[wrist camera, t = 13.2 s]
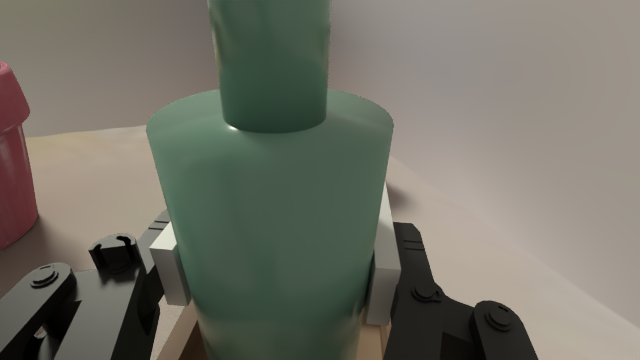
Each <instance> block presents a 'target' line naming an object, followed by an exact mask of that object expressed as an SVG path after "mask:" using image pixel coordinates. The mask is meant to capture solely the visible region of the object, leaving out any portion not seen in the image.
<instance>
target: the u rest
mask: <svg viewBox="0 0 640 360" xmlns="http://www.w3.org/2000/svg"><path fill="white" fill-rule="evenodd" d="M390 330H391V318H390V321H389V325H388V326H384V325H374V324H366V305H365V307H364V313H363V319H362V326H361V332H360V338H359V344H358V350H357V357H356V360H383V357H384V353H385V349H386V345H387V342H388V338H389V334H390ZM157 360H208V357H207V353H206V349H205V346H204V342H203V338H202V335H201V331H200V327H199V323H198V320H197V316H196V312H195V309H194V305H193V301H192V300H191V302H190V304H189V306H185V307H184V309H183V311H182V313H181V315H180V317H179V319H178V321H177V322H176V324H175V326H174V328H173V330H172V332H171V334H170V336H169V337H168V339H167V341H166V343H165V345H164V347H163V349H162V351H161V352H160V354H159V356H158V358H157Z"/></svg>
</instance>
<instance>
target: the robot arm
mask: <svg viewBox="0 0 640 360" xmlns="http://www.w3.org/2000/svg"><path fill="white" fill-rule="evenodd" d="M89 253H90V255H91V257H92V259H93V261H94V263H95V266H96V268H97V269H93V270H86V271H80V272H73V271H72V269H71V267H70V266H69V265H68V264H67V263H61V262H58V263H50V264H47V265H44V266H41V267H39V268H37V269H35V270H33V271H31V272H30V273H29V274H27V275H26V276H25V277H23V278H22V279H21V280H20V281H19V282H18V283H17V284H16V285H15V286H14V287H13V288H12V289H11V290H10V291H9V292H8V293H7V294H6V295H5V296H4V297H2V298H1V299H0V360H150V357H151V352H152V348H153V343H154V339H155V334H156V330H157V325H158V320H159V316H160V307H159V304H158V303H159V301H160V300H161V298H162V297H163V295H165V298H166V301H167V304H169V305H179V306H189V304H190V302H191V300H192V298H191V294H190V290H189V287H188V283H187V279H186V276H185V272H184V268H183V265H182V261H181V257H180V254H179V250H178V246H177V243H176V239H175V235H174V231H173V228H172V224H171V220H170V217H169V213H168V209H166V210H165V211H163V212H162V213H161V214H160V215H159V216H158V217H157V218H156V220H155V222H153V223H152V224H151V225H150V226H149V229H147V230H146V231H145V232H144V233H143V234H142V236H141V237H140V238H139V239H138V240H137V241H136V239H135V238H134V237H133V236H132V235H129V234H114V235H110V236H107V237H105V238H102V239H100V240H99V241H97V242H96V243H94V244H93V245H92V246H91V247H90V249H89ZM365 305H366V324H374V325H384V326H388V325H389V321H390V318H391V330H390V334H389V338H388V342H387V345H386V349H385V353H384V357H383V360H538V357H537V355H536V353H535V350H534V348H533V346H532V343H531V341H530V339H529V336H528V334H527V332H526V329H525V327H524V325H523V323H522V321H521V320H520V318H519V317H518V315H517V314H515V313H514V312H513V311H512V310H511V309H510V308H508V307H506V306H505V305H503V304H501V303H498V302H494V301H481V302H479V303H477V304H476V306H475V308H474V307H472V306H469V305H466V304H463V303H460V302H457V301H455V300H453V299H451V298H449V297H448V296H446V295H445V294H444V292H443V291H442V289H441V287H439V286H438V285H437V284H436V283H435V282H434V279H433V276H432V272H431V269H430V266H429V262H428V259H427V255H426V252H425V248H424V245H423V241H422V238H421V234H420V232H419V231H418V229H417V228H416V227H415V226H414V225H413V224H412V223H399V222H392V216H391V211H390V205H389V199H388V194H387V188H386V183H384V189H383V195H382V202H381V208H380V214H379V220H378V226H377V233H376V239H375V245H374V251H373V257H372V264H371V270H370V276H369V282H368V288H367V295H366V301H365ZM41 326H42V327H43V329H44V330H43V331H42V333H41V334H40V335H38V336H37V337H35V336H34V334H35V333H36V332H37V330H38V329H39V328H40V327H41Z"/></svg>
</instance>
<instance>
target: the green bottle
mask: <svg viewBox="0 0 640 360" xmlns="http://www.w3.org/2000/svg"><path fill="white" fill-rule="evenodd" d="M207 2H208V10H209V18H210V24H211V32H212V40H213V47H214V54H215V62H216V70H217V77H218V85H219V89H216V90H211V91H206V92H202V93H198V94H194V95H191V96H188V97H185V98H182V99H179V100H177V101H175V102H172V103H170V104H168V105H167V106H165V107H163V108H161V109H160V110H159V111H157V112H156V113H155V114H154V115H153V116H152V117H151V118H150V120H149V121H148V123H147V127H146V132H147V136H148V139H149V143H150V147H151V151H152V154H153V158H154V162H155V165H156V169H157V173H158V176H159V180H160V184H161V187H162V191H163V195H164V198H165V202H166V206H167V209H168V213H169V217H170V220H171V224H172V228H173V231H174V235H175V239H176V243H177V246H178V250H179V254H180V257H181V261H182V265H183V268H184V272H185V276H186V279H187V283H188V287H189V290H190V294H191V298H192V301H193V305H194V309H195V312H196V316H197V320H198V323H199V327H200V331H201V335H202V338H203V342H204V346H205V349H206V353H207V357H208V360H356V357H357V350H358V344H359V338H360V332H361V326H362V319H363V313H364V307H365V301H366V295H367V288H368V282H369V276H370V270H371V264H372V257H373V251H374V245H375V239H376V233H377V226H378V220H379V214H380V208H381V202H382V195H383V189H384V183H385V177H386V171H387V164H388V158H389V152H390V145H391V140H392V133H393V127H394V124H393V120H392V118H391V116H390V115H389V113H388V112H387V111H386V110H385V109H383V108H382V107H380V106H379V105H377V104H376V103H374V102H372V101H370V100H367V99H365V98H362V97H359V96H357V95H354V94H350V93H347V92H343V91H338V90H333V89H328V68H329V47H330V24H331V0H207Z"/></svg>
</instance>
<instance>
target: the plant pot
mask: <svg viewBox="0 0 640 360" xmlns="http://www.w3.org/2000/svg"><path fill="white" fill-rule="evenodd" d="M29 114H30V109H29V106H28V103H27V101H26V99H25V96H24V94H23V92H22V90H21V87H20V85H19V83H18V82H17V79H16V77H15V75H14V73H13V71H12V70H11V68H10V66H9V65H7V64H6V63H3V62H0V250H2V249H4V248H6V247H7V246H9V245H10V244H12V243H14V242H15V241H16V240H18V239H19V238H20V237H22V236H23V235H24V234H25V233H26V232H27V231H28V230H29V229H30V228H31V227H32V226H33V225H34V223H35V221H36V219H37V216H38V210H37V205H36V199H35V192H34V186H33V179H32V173H31V168H30V162H29V157H28V152H27V147H26V142H25V138H24V133H23V129H22V124H21V123H23V122H24V121H25V120H26V119H27V117H28V116H29Z"/></svg>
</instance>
